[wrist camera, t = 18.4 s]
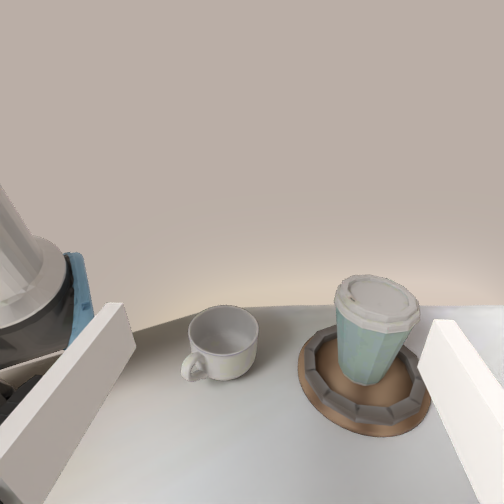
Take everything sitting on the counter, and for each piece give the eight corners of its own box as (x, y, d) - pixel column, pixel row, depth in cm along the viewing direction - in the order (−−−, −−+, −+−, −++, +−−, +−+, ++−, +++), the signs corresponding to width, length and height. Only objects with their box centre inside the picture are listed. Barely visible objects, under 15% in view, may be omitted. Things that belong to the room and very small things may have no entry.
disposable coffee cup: (364, 336, 51) (378, 262, 44) (417, 385, 42) (445, 302, 35) (312, 357, 48) (319, 279, 41) (358, 414, 39) (377, 328, 32)
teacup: (230, 330, 55) (227, 295, 52) (273, 362, 48) (273, 325, 45) (164, 374, 47) (154, 337, 43) (204, 421, 40) (197, 381, 36)
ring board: (298, 428, 39) (299, 416, 37) (297, 328, 55) (297, 317, 54) (454, 445, 36) (460, 433, 35) (404, 334, 53) (407, 323, 52)
